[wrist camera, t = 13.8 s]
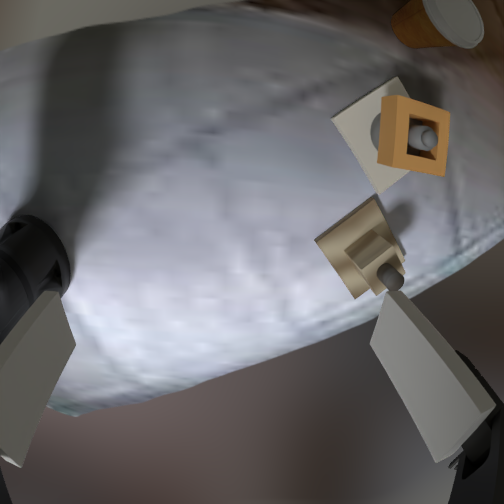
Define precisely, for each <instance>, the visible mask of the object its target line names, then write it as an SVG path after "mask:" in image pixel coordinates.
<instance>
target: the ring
mask: <svg viewBox="0 0 504 504" xmlns="http://www.w3.org/2000/svg"><path fill="white" fill-rule="evenodd" d="M409 118H412V119H416V120H419V121H422V126H429V127H430V128H432V130H433V131H434V132H435V133H436V134H437V136H438V144H437V145H436V146H435V147H433V149H431V150H429V151H425V150H420V156H414V155H409V154H406V153H407V143H408V130H409ZM449 125H450V112H448V111H445V110H443V109H440V108H437V107H434V106H431V105H429V104H426V103H423V102H420V101H416V100H413V99H410V98H407V97H403V96H400V95H392V96H384V97H381V119H380V134H379V146H378V157H377V163H379V164H382V165H386V166H389V167H393V168H399V169H405V170H411V171H417V172H422V173H427V174H433V175H437V176H442V177H444V176H445V168H446V160H447V150H448V139H449Z"/></svg>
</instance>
